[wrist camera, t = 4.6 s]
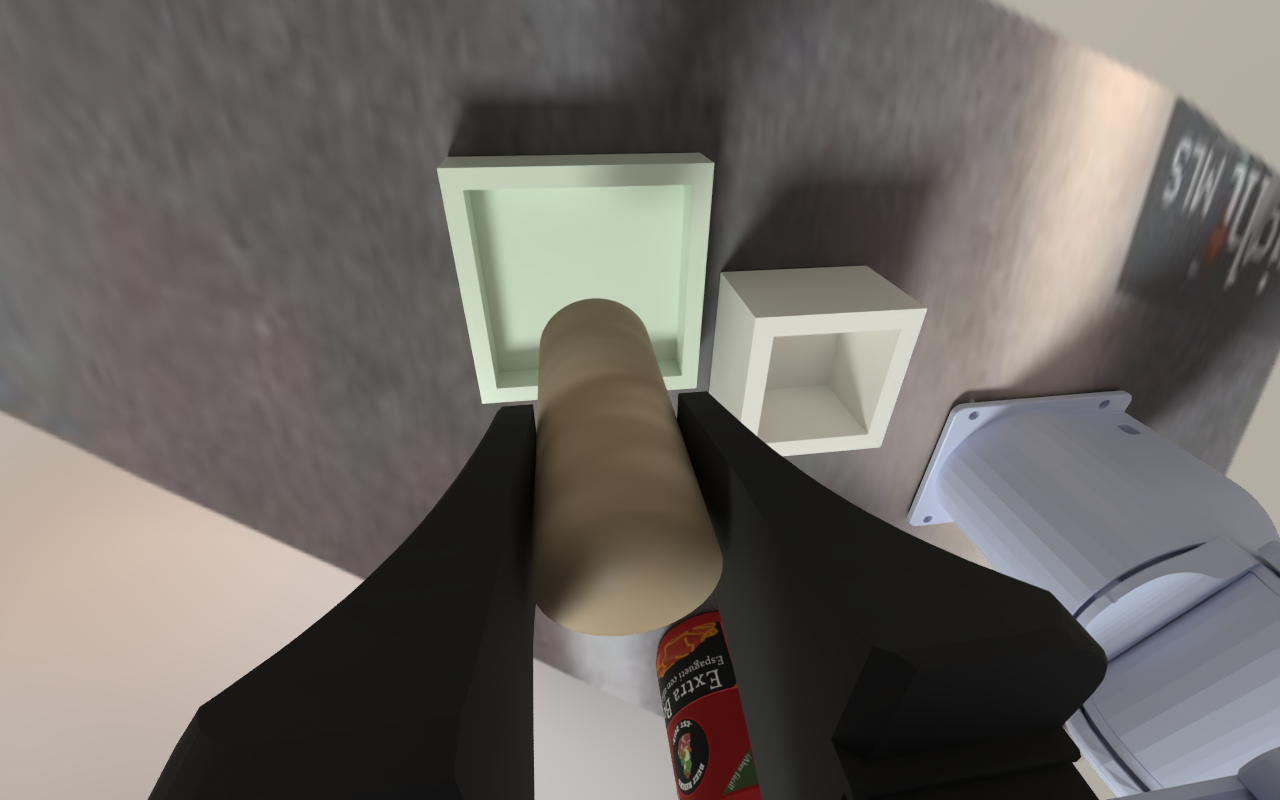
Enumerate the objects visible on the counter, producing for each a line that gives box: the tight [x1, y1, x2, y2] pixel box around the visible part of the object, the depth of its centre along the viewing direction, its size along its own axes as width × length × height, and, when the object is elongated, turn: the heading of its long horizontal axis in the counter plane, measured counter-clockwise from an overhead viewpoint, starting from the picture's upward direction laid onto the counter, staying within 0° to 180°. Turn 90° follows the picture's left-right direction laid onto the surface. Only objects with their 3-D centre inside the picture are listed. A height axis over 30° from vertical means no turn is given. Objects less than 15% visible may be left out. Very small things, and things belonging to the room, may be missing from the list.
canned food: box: [656, 611, 762, 800], centre depth 29 cm, size 8×8×11 cm
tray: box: [437, 153, 714, 404], centre depth 18 cm, size 8×8×2 cm
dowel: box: [531, 298, 723, 636], centre depth 11 cm, size 3×3×8 cm
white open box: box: [709, 266, 927, 456], centre depth 20 cm, size 6×6×4 cm
